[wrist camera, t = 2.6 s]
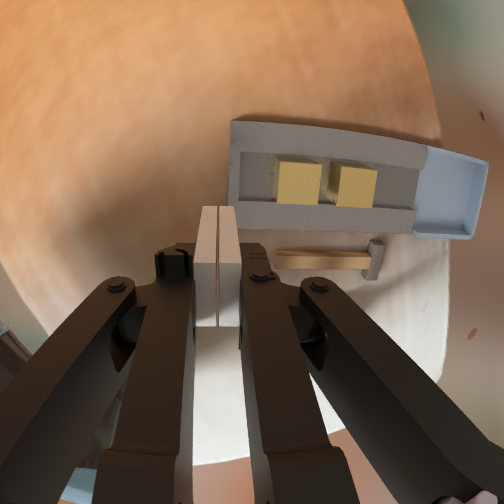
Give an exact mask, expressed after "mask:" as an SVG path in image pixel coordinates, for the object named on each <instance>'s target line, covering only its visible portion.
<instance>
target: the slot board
mask: <svg viewBox="0 0 504 504" xmlns="http://www.w3.org/2000/svg"><path fill="white" fill-rule="evenodd" d="M426 151H427V145H424V144H420V143H416V142H411V141H406V140H401V139H396V138H391V137H385V136H380V135H374V134H368V133H362V132H355V131H348V130H341V129H334V128H326V127H317V126H308V125H298V124H286V123H273V122H257V121H235V120H231V128H230V151H229V177H228V206H234V211H235V218H236V225H237V229H263V230H308V231H342V232H371V233H396V234H411V232H412V228H413V223H414V219H415V214H416V210H414V209H413V205H414V200H415V194H416V189H417V183H418V178H419V171H420V170H424V164H425V158H426ZM275 157H281V158H297V159H310V160H314V161H316V162H318V163H320V164H322V170H321V179H320V188H319V196H318V205H304V204H279V203H276V201H275V199H274V198H273V196H272V189H273V176H274V162H275ZM331 161H332V162H342V163H351V164H360V165H366V166H368V167H371V168H373V169H375V170H377V171H378V172H377V179H376V185H375V192H374V198H373V204H372V208H358V207H342V206H336V205H335V204H333V203H332V202H331V201H330V200H329V199H328V198H327V195H328V186H329V178H330V169H331Z"/></svg>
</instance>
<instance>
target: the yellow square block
mask: <svg viewBox="0 0 504 504" xmlns="http://www.w3.org/2000/svg"><path fill="white" fill-rule="evenodd" d="M321 170H322V164H320V163H318V162H316V161H314V160H310V159H297V158H281V157H275V162H274V176H273V189H272V196H273V198H274V199H275V201H276V203H279V204H304V205H318V196H319V188H320V179H321Z"/></svg>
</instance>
